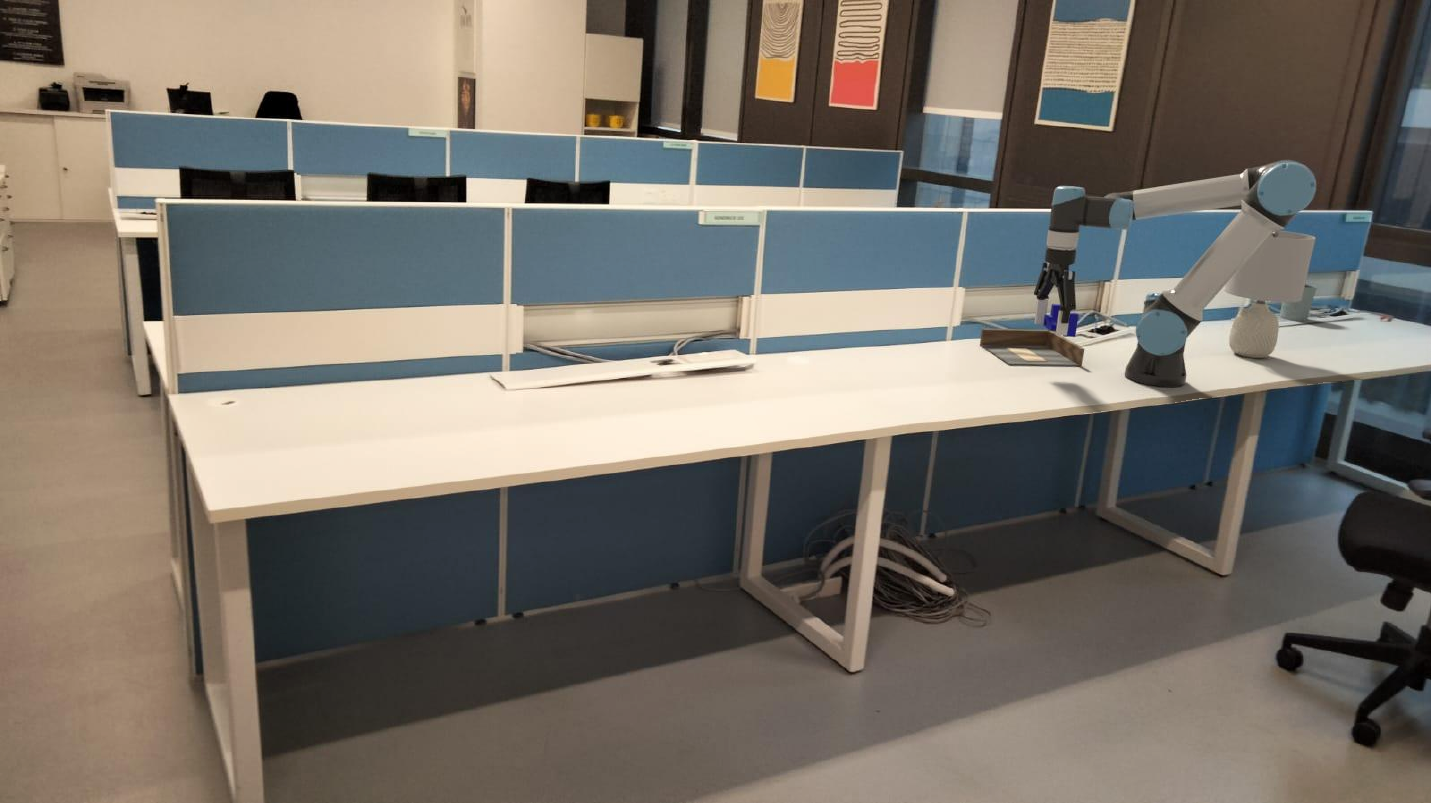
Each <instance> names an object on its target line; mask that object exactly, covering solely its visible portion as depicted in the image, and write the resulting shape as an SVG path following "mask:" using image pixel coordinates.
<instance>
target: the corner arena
mask: <svg viewBox="0 0 1431 803" xmlns="http://www.w3.org/2000/svg"><path fill="white" fill-rule="evenodd" d="M979 342H980V343H979V346H980V347H981V348H983V349H985V350H986V351H987V352H988V353H990V354H992V355H993V356H995V357H996V358H997V359H999V360H1001V361H1002V362H1003V363H1005V364H1006V365H1007V366H1024V367H1025V366H1028V367H1029V366H1031V367H1032V366H1033V367H1034V366H1035V367H1036V366H1038V367H1039V366H1040V367H1083V360H1084V353H1085V348H1084V347H1082V346H1081V345H1079V344H1077V343H1075V342H1073V341H1071V340H1069V339H1068V338H1066V337H1064V336H1062V335H1056V331H1050V330H1049V329H1017V328H1016V329H1015V328H1014V329H1011V328H1010V329H1005V328H981V333H980V341H979Z"/></svg>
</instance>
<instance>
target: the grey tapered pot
mask: <svg viewBox="0 0 1431 803" xmlns="http://www.w3.org/2000/svg"><path fill="white" fill-rule="evenodd" d="M1317 288H1318V287H1317V285H1313V284H1309V283H1305V286H1304V291H1303V295H1302V300H1301V301H1299V302H1281V308H1280V314H1279V317H1280V318H1281V319H1283V320H1288V321H1295V322H1307V320H1308V319H1309V315H1310V310H1311V308H1312V305H1313V301H1314V297H1315V294H1316V292H1317Z"/></svg>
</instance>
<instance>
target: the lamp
mask: <svg viewBox="0 0 1431 803" xmlns="http://www.w3.org/2000/svg"><path fill="white" fill-rule="evenodd" d="M1315 242H1316V237H1315V236H1313V235H1309V234H1305V233H1300V232H1296V231H1295V232H1293V231H1287V230H1281V229H1280V230H1275V231H1272V232H1271V234H1270V235H1269V236H1268V237H1267V238H1266V239H1265V240H1264V242H1263V243H1262V244H1261V245H1260V246H1259V247H1258V248H1257V249H1256V251H1255V252H1254V253H1253V254H1252V255H1251V256H1250V257H1249V258H1248V260H1247V261H1246V262H1245V263H1244V264H1243V265H1242V266H1241V268H1240V269H1239V270H1238V271H1237V272H1236V273H1235V274H1234V275H1233V277H1232V278H1231V279H1230V280H1229V281H1228V282H1227V283H1226V285H1225V286H1224V292H1225V293H1227V294H1230V295H1233V296H1236V297H1239V298H1240V297H1241V298H1244V299H1250V300H1254V302H1252V304H1251V305H1250V306H1249V307H1247V308H1244V309H1241V310H1240V311H1238V313H1237V315H1236V316H1235V317H1234V320H1233V322H1232V326H1231V328H1230V333H1229V338H1228V340H1229V342H1228V345H1229V347H1230V349H1231V350H1232V352H1233V353H1235V354H1236V355H1238V356H1241V357H1246V358H1250V359H1251V358H1252V359H1264V358H1266V357H1268V356H1270V355H1271V354H1272V353H1273V352H1274V351H1275V349H1276V346H1277V342H1278V337H1279V330H1280V328H1279V325H1280V324H1279V319H1278V316H1277V315H1276V314H1275V312H1273V311H1271V309H1269V308H1270V307H1269V305H1268V304H1267V303H1266V302H1272V303H1273V302H1274V303H1282V302H1299V301H1301V300H1302V295H1303V291H1304V286H1305V284H1306V281H1307V277H1308V273H1309V268H1310V264H1311V260H1312V254H1313V251H1314V246H1315ZM1255 300H1256V301H1255Z"/></svg>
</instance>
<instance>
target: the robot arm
mask: <svg viewBox="0 0 1431 803" xmlns="http://www.w3.org/2000/svg"><path fill="white" fill-rule="evenodd" d="M1316 190H1317V180H1316V177H1315V175H1314V173H1313V171H1312V170H1311V169H1310V168H1309V167H1307V165H1305V164H1304V163H1302V162H1301V161H1298V160H1295V159H1282V160H1281V159H1280V160H1277V161H1275V162H1271V163H1267V164H1264V165H1261V166H1256V167H1250V168H1245V170H1244V171H1243V172H1242V173H1239V174H1233V175H1231V174H1230V175H1225V176H1218V177H1213V178H1207V179H1200V180H1193V181H1186V182H1182V183H1173V184H1168V185H1162V186H1156V187H1149V188H1148V187H1147V188H1143V189H1142V188H1141V189H1135V190H1132V191H1122V192H1117V191H1116V192H1111V193H1108V194H1106V195H1104V197H1101V196H1091V195H1086V190H1085V187H1080V186H1075V185H1071V186H1069V185H1059V186H1057V187H1055V189H1054V192H1053V197H1052V201H1051V202H1052V203H1051V208H1050V216H1049V224H1048V226H1049V227H1048V230H1047V238H1046V248H1045V253H1044V261H1045V262H1043V263H1042V267H1041V271H1040V275H1039V277H1038V278H1037V283H1036V285H1035V288H1034V291H1033V296H1036V299H1037V302H1036V309H1035V316H1034V324H1035V325H1043V324H1044V317H1045V315H1048V314H1047V313H1048V305H1049V299H1050V293H1051V291H1052V290H1053V288H1054V287H1055V288H1057V289H1056V290H1057V293H1058V294H1057V295H1058V298H1059V304H1060V305H1061V308H1059V309H1058V310H1059V314H1058V321H1057V328H1056V331H1055V333H1056V335H1060V336H1062V335H1067V331H1068V324H1069V317H1070V313H1071V312H1072V311H1076V310H1077V301H1076V286H1075V279H1076V272H1075V270H1070V266H1071V265H1074V264H1076V258H1077V257H1076V256H1077V250H1076V248H1077V247H1078V242H1079V240H1078V239H1079V238H1080V235H1079V234H1080V228H1081V227H1091V228H1092V227H1093V228H1099V229H1100V228H1102V229H1109V230H1110V229H1111V230H1114V231H1116V230H1129V229H1130V227H1131V225H1132V221H1136V220H1143V219H1151V218H1158V217H1164V216H1165V217H1166V216H1172V215H1177V214H1178V215H1179V214H1186V213H1187V214H1188V213H1193V212H1200V211H1206V210H1209V211H1210V210H1215V209H1222V208H1223V209H1224V208H1230V207H1231V208H1232V207H1237V206H1241V209H1240V211H1239V212H1238V213H1237V215H1235V217H1234V218H1232V220H1231V221H1230V222H1229V224H1228V225H1227V226H1226V227H1225V228H1224V230H1223V231H1222V232H1221V233H1220V234H1219V235H1218V236H1217V238H1216V239H1215V240H1214V241H1213V242H1212V243H1211V245H1210V246H1209V247H1208V248H1207V249H1206V251H1205V252H1204V253H1203V254H1202V255H1201V256H1200V258H1199V259H1198V260H1197V261H1196V262H1195V263H1194V265H1193V266H1192V267H1191V268H1190V269H1189V271H1188V272H1187V273H1186V274H1185V275H1184V276H1183V277H1182V278H1181V280H1180V281H1179V282H1178V283H1177V284H1176V285H1175V287H1174V288H1173V289H1171V290H1163V291H1162V292H1161V293H1159V292H1149V293H1148V294H1146V295H1145V300H1144V301H1143V310H1142V314H1141V316H1140V318H1139V320H1138V321H1137V324H1136V326H1135V336H1136V340H1137V344H1136V349H1134V352H1133V354H1132V356H1131V357H1130V359H1129V361H1128V363H1127V365H1125V366H1126V367H1125V370H1124V371H1125V372H1124V376H1125V378H1126V379H1128V380H1130V381H1134V382H1137V383H1139V382H1140V384H1143V383H1144V385H1150V386H1153V387H1154V386H1155V387H1162V386H1164V388H1165V387H1167V388H1175V387H1176V388H1177V387H1183V386H1184V385H1185V384H1186V382H1187V371H1186V370H1187V369H1186V363H1185V355H1184V352H1185V348H1186V344H1187V339H1188V337H1189V336H1190V335H1191V334H1192V333H1193V331H1195V329H1196V328H1197V327H1198V326H1199V325H1200V324H1201V323H1202V321H1203V320H1204V317H1203V316H1204V314H1203V310H1205V309H1206V307H1207V306H1208V305H1209V304H1210V303H1211V302H1212V301H1213V299H1214V298H1215V297H1216V295H1218V293H1220V292H1221V290H1222V289H1223V288H1225V285H1226V283H1227V282H1228V281H1229V280H1230V279H1231V278H1232V277H1233V275H1234V274H1235V273H1236V272H1237V271H1238V270H1239V269H1240V268H1241V266H1242V265H1243V264H1244V263H1245V262H1246V261H1247V260H1248V258H1249V257H1250V256H1251V255H1252V254H1253V253H1254V252H1255V251H1256V249H1257V248H1258V247H1259V246H1260V245H1261V244H1262V243H1263V242H1264V240H1265V239H1266V238H1267V237H1268V236H1269V235H1270V234H1271V232H1272V231H1275V230H1280V231H1281V230H1284V229H1285V228H1286V227H1287V226H1288V225H1289V223H1290V222H1291V221H1292V220H1293V219H1294V218H1295V217H1296V216H1297V214H1299V213H1300V212H1301V211H1303V210H1304V209H1305V208H1307V207H1308V206H1309V204H1310V203H1311V202H1312V201H1313V199H1314V197H1315V194H1316V192H1317V191H1316Z"/></svg>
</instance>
